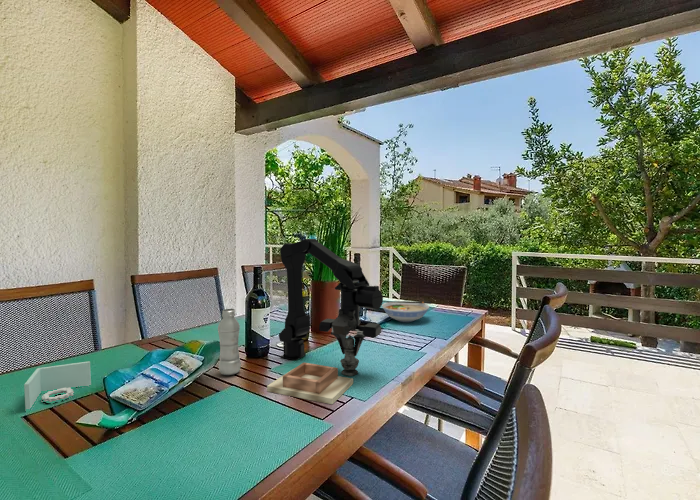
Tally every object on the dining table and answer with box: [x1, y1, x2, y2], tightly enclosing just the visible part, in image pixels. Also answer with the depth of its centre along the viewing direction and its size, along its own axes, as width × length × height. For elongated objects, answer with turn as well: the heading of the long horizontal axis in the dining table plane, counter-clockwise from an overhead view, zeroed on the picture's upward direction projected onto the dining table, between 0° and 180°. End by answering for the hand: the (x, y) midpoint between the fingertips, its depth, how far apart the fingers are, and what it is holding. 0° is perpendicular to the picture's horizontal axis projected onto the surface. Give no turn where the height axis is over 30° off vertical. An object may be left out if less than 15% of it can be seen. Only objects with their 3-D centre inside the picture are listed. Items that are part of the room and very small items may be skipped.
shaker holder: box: [266, 362, 354, 405], centre depth 108 cm, size 20×14×4 cm
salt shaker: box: [340, 334, 360, 376], centre depth 118 cm, size 6×6×12 cm
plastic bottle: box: [217, 308, 242, 376], centre depth 118 cm, size 6×7×20 cm
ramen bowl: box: [381, 300, 432, 323], centre depth 184 cm, size 25×23×8 cm
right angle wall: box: [23, 361, 92, 410], centre depth 102 cm, size 12×12×8 cm
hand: (349, 354), depth 118 cm, fingers closed on salt shaker, 4 cm apart
